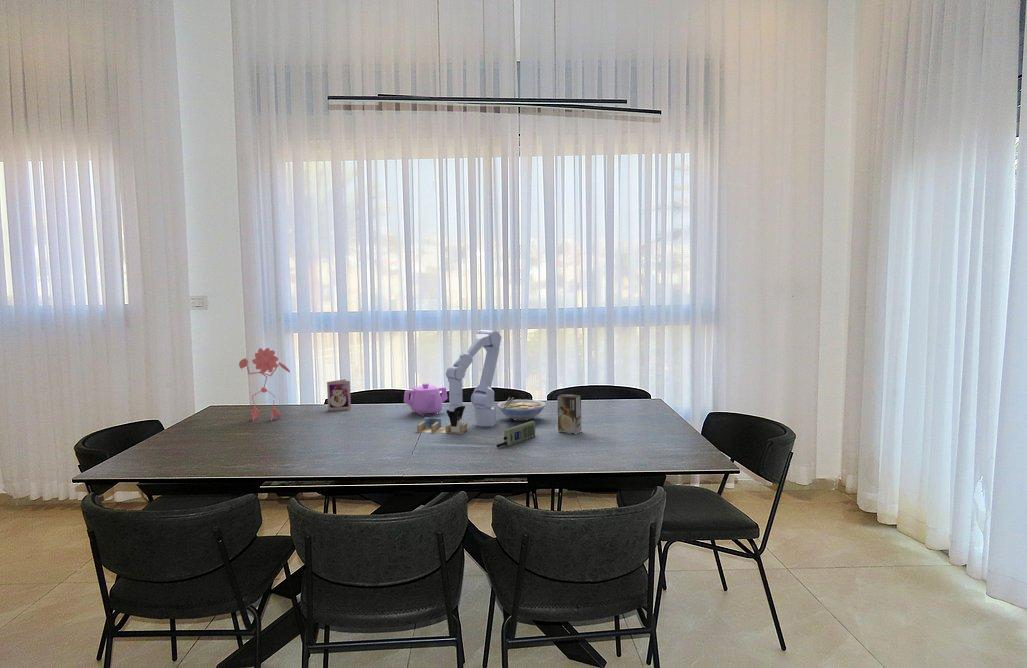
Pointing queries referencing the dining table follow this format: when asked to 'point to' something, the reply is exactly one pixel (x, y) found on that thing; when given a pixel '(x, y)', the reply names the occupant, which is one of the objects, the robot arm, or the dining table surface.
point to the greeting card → (338, 395)
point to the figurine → (264, 362)
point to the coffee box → (569, 413)
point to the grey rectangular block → (459, 423)
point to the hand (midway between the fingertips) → (456, 424)
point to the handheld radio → (518, 433)
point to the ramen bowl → (521, 408)
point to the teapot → (425, 399)
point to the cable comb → (437, 426)
